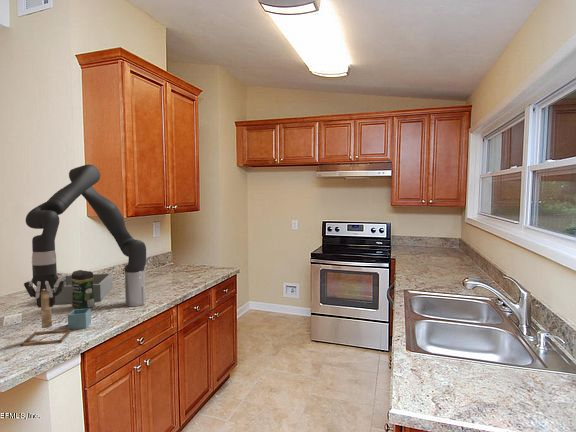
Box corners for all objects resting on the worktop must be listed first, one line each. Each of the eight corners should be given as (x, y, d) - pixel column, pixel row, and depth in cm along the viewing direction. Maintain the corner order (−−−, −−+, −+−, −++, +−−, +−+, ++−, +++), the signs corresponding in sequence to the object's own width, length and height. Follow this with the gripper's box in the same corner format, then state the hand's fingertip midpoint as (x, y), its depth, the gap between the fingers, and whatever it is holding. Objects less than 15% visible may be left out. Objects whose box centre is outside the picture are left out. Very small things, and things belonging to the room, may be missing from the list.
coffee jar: (69, 308, 168) (67, 271, 167) (84, 303, 175) (83, 268, 174) (82, 311, 164) (81, 273, 163) (97, 306, 171) (96, 269, 170)
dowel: (53, 324, 134) (52, 289, 133) (49, 327, 131) (48, 291, 130) (44, 325, 133) (42, 289, 132) (40, 328, 130) (38, 292, 129)
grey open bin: (112, 288, 204) (112, 273, 203) (100, 301, 179) (100, 284, 178) (64, 290, 197) (64, 275, 197) (45, 304, 173) (44, 287, 172)
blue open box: (91, 324, 148) (90, 308, 148) (86, 330, 142) (85, 313, 141) (74, 325, 147) (73, 309, 146) (68, 331, 140) (67, 315, 140)
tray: (71, 332, 139) (71, 329, 139) (61, 344, 128) (61, 340, 128) (35, 335, 136) (34, 332, 136) (21, 348, 125) (20, 343, 125)
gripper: (68, 259, 135) (70, 302, 137) (27, 261, 132) (29, 304, 133) (61, 263, 128) (63, 308, 129) (17, 265, 125) (19, 311, 126)
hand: (46, 306), depth 131 cm, fingers closed on dowel, 3 cm apart
